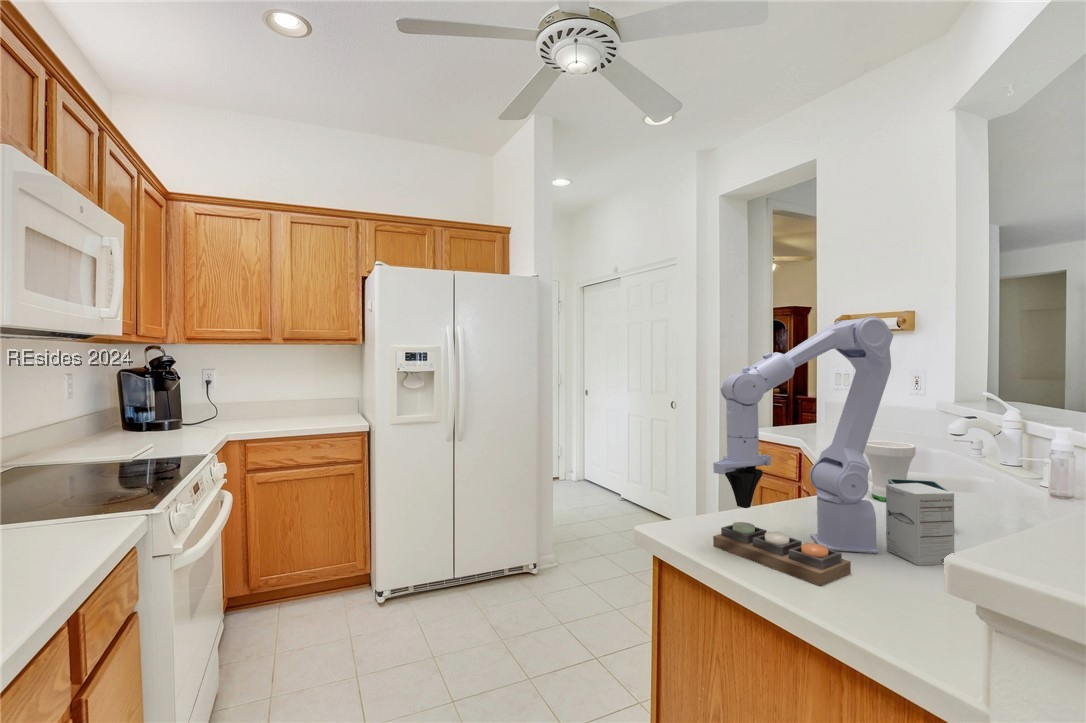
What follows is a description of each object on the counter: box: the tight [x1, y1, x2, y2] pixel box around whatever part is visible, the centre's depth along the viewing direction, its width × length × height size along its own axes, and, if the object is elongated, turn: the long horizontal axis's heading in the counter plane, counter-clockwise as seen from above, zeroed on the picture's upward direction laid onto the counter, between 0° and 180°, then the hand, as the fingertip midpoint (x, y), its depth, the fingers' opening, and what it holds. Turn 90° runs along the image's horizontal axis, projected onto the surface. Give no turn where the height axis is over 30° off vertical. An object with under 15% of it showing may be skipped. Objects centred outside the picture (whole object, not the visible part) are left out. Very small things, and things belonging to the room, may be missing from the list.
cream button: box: [765, 531, 790, 546], centre depth 92 cm, size 4×4×2 cm
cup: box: [863, 440, 917, 502], centre depth 131 cm, size 11×11×14 cm
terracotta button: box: [801, 542, 828, 559], centre depth 86 cm, size 4×4×2 cm
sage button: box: [732, 521, 756, 535], centre depth 98 cm, size 4×4×2 cm
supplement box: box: [885, 483, 955, 566], centre depth 92 cm, size 7×7×13 cm
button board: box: [712, 524, 852, 587], centre depth 92 cm, size 21×9×4 cm, turn 31°
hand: (743, 506), depth 98 cm, fingers closed
